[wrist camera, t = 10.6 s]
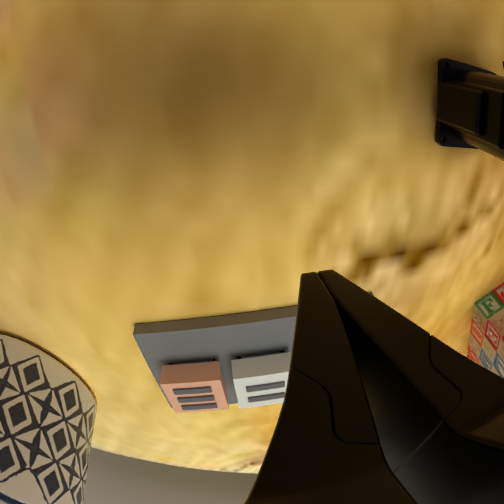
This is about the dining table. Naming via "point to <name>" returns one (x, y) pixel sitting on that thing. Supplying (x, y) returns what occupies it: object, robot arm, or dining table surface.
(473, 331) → the stack of blocks
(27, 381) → the planter
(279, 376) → the tile
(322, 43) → the dining table surface
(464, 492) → the robot arm
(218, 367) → the slotted block
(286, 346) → the board
